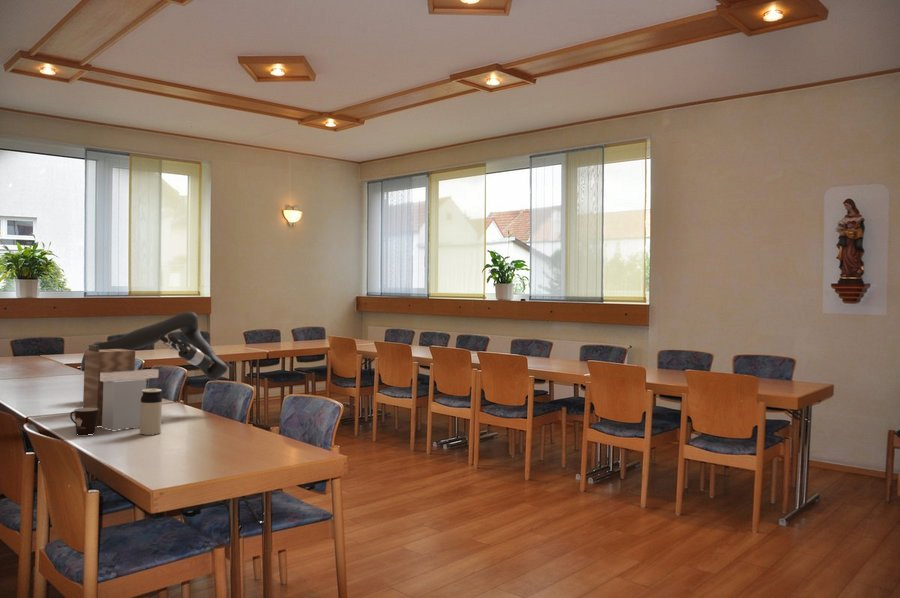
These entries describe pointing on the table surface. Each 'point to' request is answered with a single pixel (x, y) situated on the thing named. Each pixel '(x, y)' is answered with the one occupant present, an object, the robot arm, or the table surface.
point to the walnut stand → (102, 363)
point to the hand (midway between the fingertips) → (164, 337)
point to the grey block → (122, 403)
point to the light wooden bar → (128, 375)
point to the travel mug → (150, 412)
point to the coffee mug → (85, 420)
